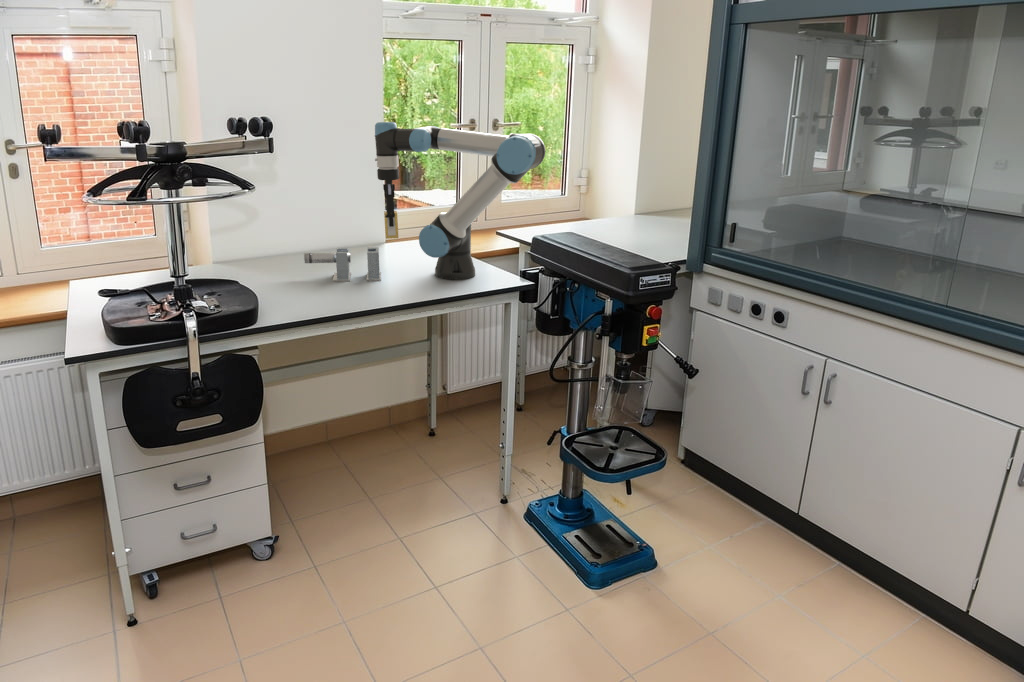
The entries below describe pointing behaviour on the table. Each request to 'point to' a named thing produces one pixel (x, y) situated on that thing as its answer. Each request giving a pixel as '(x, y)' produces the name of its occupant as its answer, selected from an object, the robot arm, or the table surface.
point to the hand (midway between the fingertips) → (391, 233)
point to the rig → (343, 265)
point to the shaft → (322, 257)
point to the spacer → (387, 226)
